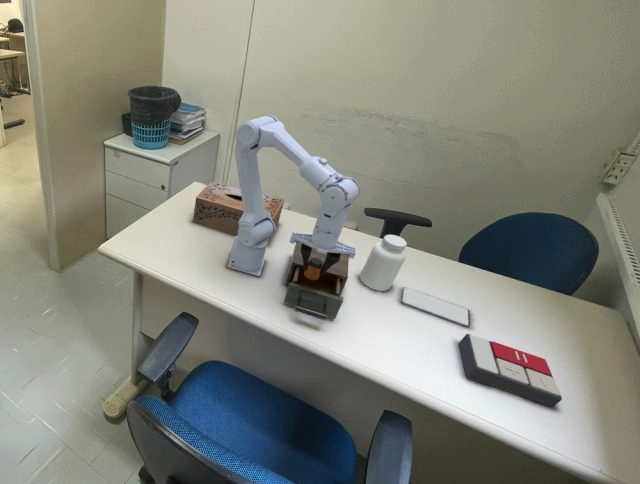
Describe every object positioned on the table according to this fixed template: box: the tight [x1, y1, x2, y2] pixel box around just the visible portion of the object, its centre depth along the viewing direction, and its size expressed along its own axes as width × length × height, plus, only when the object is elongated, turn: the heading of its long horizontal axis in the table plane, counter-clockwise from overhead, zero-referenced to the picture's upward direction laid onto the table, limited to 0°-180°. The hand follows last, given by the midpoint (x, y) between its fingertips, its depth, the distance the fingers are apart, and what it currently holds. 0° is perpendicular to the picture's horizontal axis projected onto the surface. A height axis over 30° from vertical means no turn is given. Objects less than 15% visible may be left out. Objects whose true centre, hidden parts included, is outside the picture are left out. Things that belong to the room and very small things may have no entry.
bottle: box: [304, 258, 323, 280], centre depth 100 cm, size 4×4×5 cm
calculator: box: [458, 333, 563, 408], centre depth 87 cm, size 11×4×15 cm
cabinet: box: [284, 242, 350, 297], centre depth 112 cm, size 14×14×8 cm
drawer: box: [283, 266, 344, 321], centre depth 103 cm, size 17×13×6 cm
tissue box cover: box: [192, 180, 285, 246], centre depth 135 cm, size 26×14×10 cm, turn 59°
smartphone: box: [401, 287, 471, 327], centre depth 105 cm, size 7×1×15 cm
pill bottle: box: [359, 234, 408, 292], centre depth 109 cm, size 8×8×15 cm
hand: (312, 271), depth 101 cm, fingers closed on bottle, 3 cm apart
